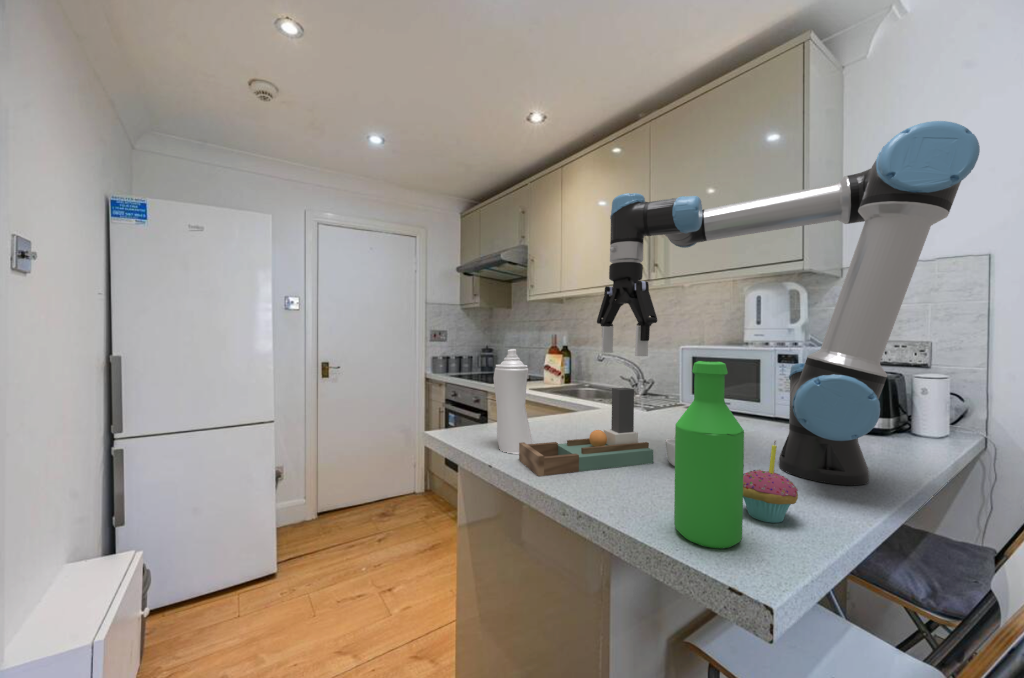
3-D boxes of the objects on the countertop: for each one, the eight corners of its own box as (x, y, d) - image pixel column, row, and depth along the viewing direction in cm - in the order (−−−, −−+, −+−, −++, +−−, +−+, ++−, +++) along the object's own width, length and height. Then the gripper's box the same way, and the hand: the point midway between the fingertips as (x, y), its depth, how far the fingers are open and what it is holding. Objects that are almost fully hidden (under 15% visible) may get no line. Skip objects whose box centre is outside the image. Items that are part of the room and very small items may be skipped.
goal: (578, 471, 86) (579, 452, 86) (538, 476, 83) (538, 456, 83) (555, 456, 97) (555, 439, 97) (519, 460, 94) (519, 442, 93)
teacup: (665, 469, 88) (666, 444, 88) (664, 459, 95) (664, 436, 95) (717, 475, 85) (717, 449, 85) (711, 464, 92) (712, 440, 92)
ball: (610, 449, 93) (610, 431, 93) (595, 450, 91) (595, 432, 91) (600, 444, 96) (601, 427, 96) (585, 445, 95) (586, 428, 95)
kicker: (637, 445, 95) (638, 389, 95) (615, 448, 93) (616, 390, 92) (624, 440, 99) (625, 387, 99) (603, 442, 97) (604, 387, 97)
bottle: (750, 537, 59) (753, 362, 58) (729, 559, 52) (732, 364, 52) (688, 517, 65) (690, 359, 65) (663, 535, 59) (665, 361, 59)
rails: (648, 447, 94) (648, 442, 94) (583, 454, 88) (583, 448, 88) (628, 439, 101) (628, 435, 101) (566, 445, 96) (567, 440, 96)
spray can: (482, 450, 101) (484, 349, 101) (500, 440, 111) (501, 348, 111) (526, 456, 97) (528, 350, 97) (541, 445, 107) (542, 349, 107)
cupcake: (756, 502, 71) (757, 433, 71) (810, 522, 63) (811, 445, 63) (724, 511, 67) (725, 438, 67) (777, 534, 60) (778, 451, 59)
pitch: (653, 463, 92) (653, 449, 92) (578, 471, 86) (578, 457, 86) (624, 450, 103) (624, 438, 103) (555, 456, 96) (555, 444, 96)
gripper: (585, 269, 106) (582, 351, 106) (647, 252, 83) (643, 357, 83) (609, 271, 109) (607, 351, 109) (677, 255, 85) (673, 357, 85)
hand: (623, 354), depth 96 cm, fingers open, 13 cm apart
